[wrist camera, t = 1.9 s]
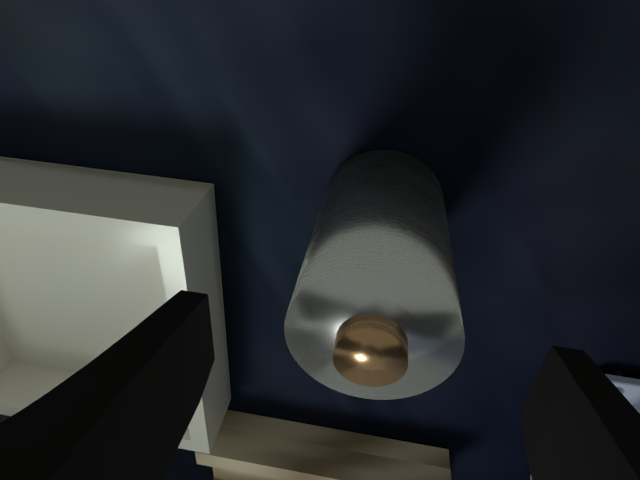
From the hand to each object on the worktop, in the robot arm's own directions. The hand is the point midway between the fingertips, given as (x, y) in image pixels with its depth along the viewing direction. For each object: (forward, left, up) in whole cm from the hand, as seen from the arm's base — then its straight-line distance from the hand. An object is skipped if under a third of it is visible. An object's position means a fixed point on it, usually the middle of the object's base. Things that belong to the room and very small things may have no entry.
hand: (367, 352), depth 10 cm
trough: (+1, +16, -7) cm, 17 cm away
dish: (+12, +6, -7) cm, 15 cm away
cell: (0, 0, -7) cm, 7 cm away
